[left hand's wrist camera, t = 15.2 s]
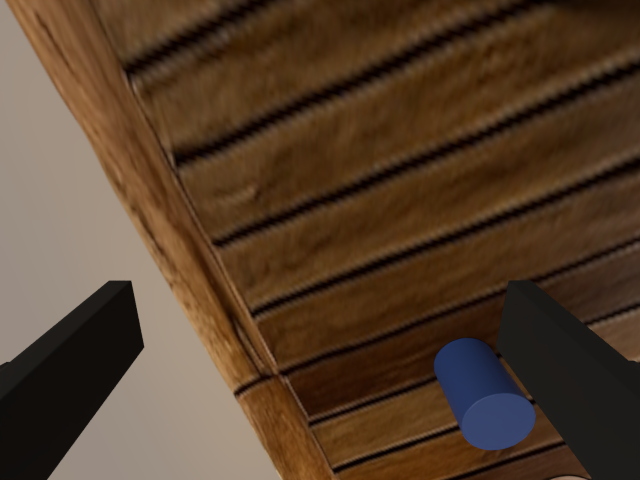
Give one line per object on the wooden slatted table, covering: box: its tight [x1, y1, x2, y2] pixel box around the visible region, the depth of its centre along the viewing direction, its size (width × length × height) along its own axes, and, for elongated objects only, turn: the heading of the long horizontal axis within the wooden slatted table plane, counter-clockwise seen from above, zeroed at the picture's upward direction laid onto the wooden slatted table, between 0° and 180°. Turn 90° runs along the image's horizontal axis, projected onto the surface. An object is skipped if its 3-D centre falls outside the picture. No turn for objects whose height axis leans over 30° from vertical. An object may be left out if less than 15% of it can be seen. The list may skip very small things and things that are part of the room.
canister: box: [434, 338, 536, 450], centre depth 38 cm, size 7×7×9 cm
